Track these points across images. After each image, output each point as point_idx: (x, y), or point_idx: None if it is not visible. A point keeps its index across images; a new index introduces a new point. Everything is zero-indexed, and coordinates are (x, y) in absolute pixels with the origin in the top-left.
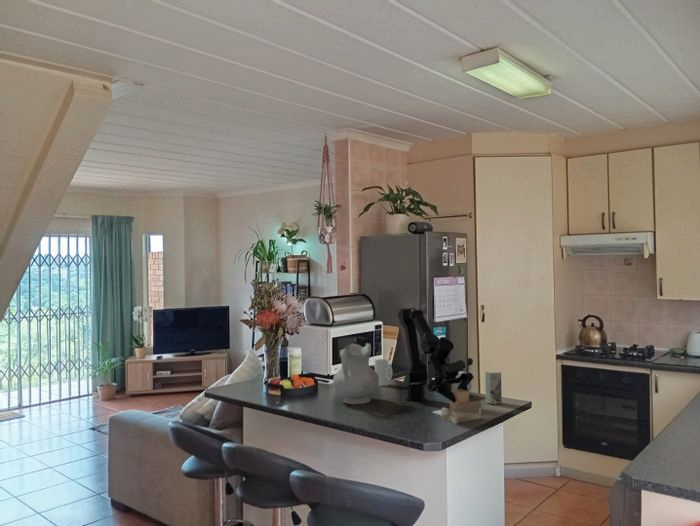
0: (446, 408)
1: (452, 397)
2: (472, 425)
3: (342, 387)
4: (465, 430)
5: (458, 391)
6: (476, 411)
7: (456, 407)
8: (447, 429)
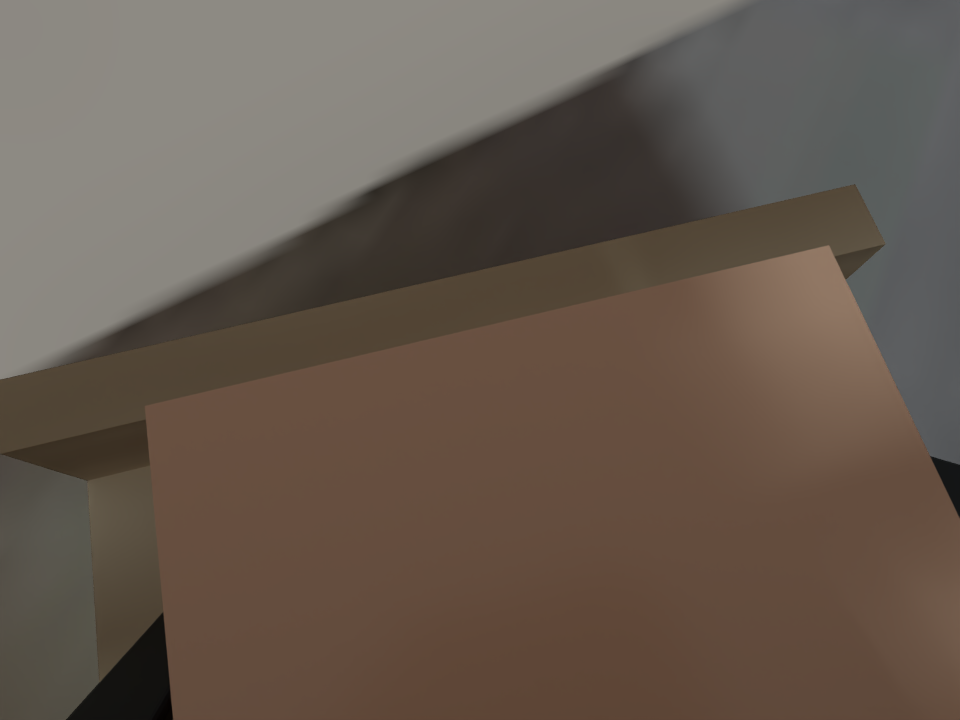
0: None
1: (951, 472)
2: (529, 180)
3: None
4: (715, 34)
5: (696, 566)
6: None
7: (818, 206)
8: (933, 134)
